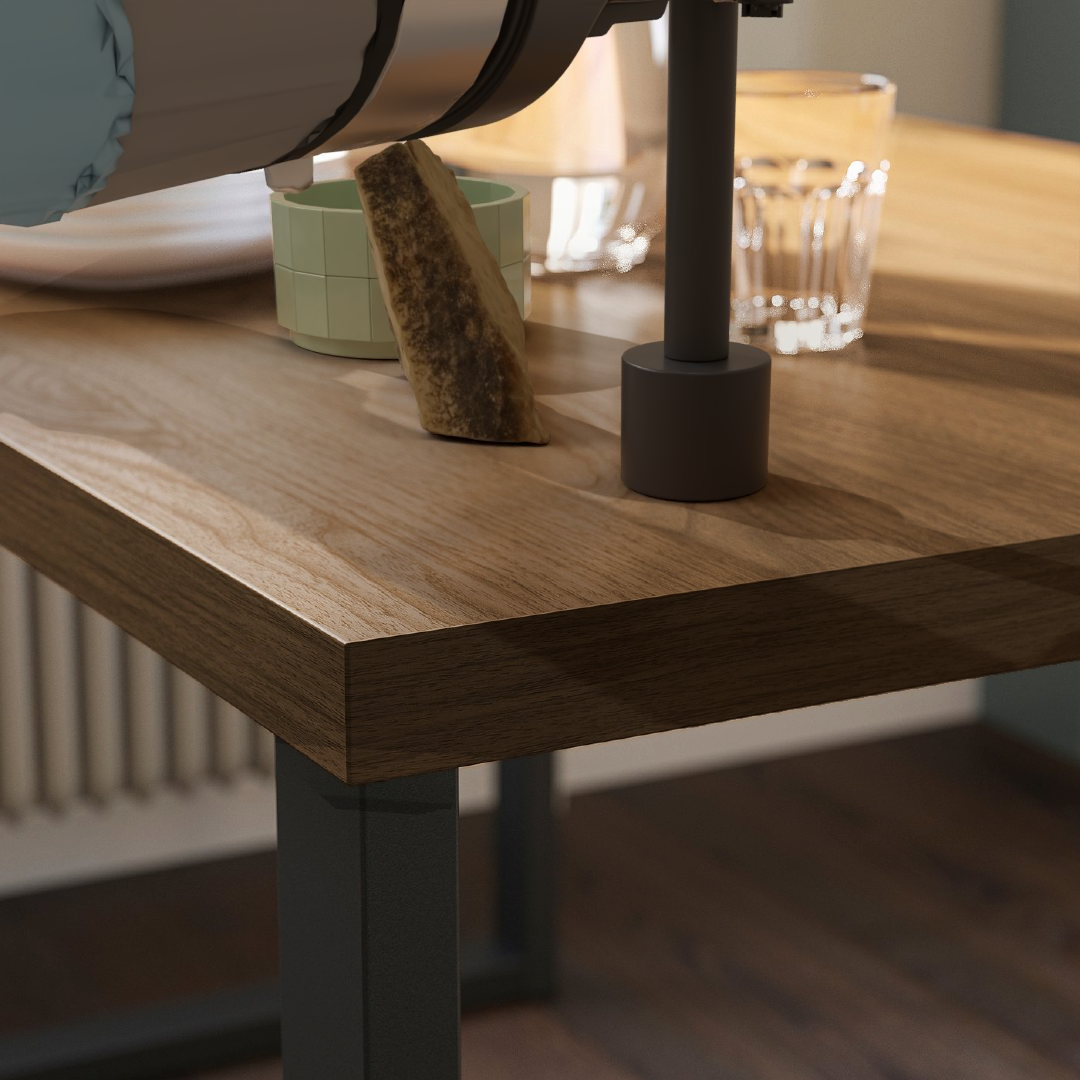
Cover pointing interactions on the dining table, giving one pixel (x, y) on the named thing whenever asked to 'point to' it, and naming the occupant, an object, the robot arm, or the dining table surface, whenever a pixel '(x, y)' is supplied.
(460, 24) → the robot arm
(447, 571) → the dining table surface
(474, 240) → the rock
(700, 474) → the dark weighted post stand
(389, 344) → the bowl
